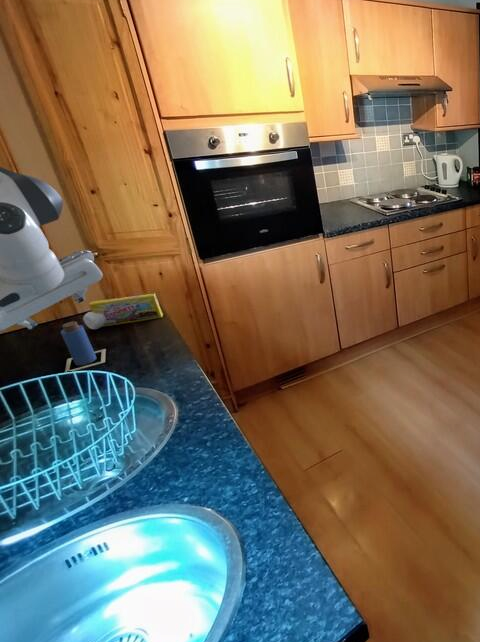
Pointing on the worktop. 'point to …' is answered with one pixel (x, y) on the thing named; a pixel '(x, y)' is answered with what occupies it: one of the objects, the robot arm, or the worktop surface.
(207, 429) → the worktop surface
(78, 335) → the blue bottle
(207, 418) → the worktop surface
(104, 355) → the spot outline
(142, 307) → the candy box
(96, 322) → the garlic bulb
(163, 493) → the worktop surface
